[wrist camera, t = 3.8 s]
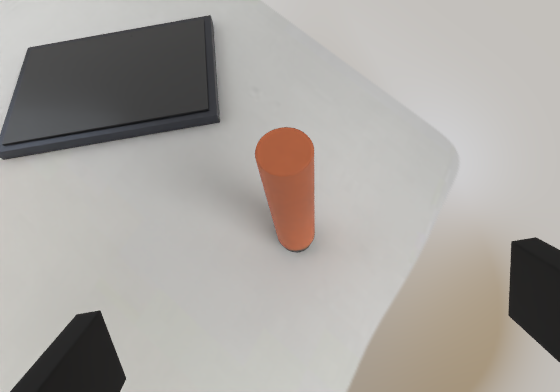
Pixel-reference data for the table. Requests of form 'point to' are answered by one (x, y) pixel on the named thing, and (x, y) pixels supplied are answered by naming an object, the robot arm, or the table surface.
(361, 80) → the table surface
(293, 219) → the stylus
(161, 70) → the plate
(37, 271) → the table surface
